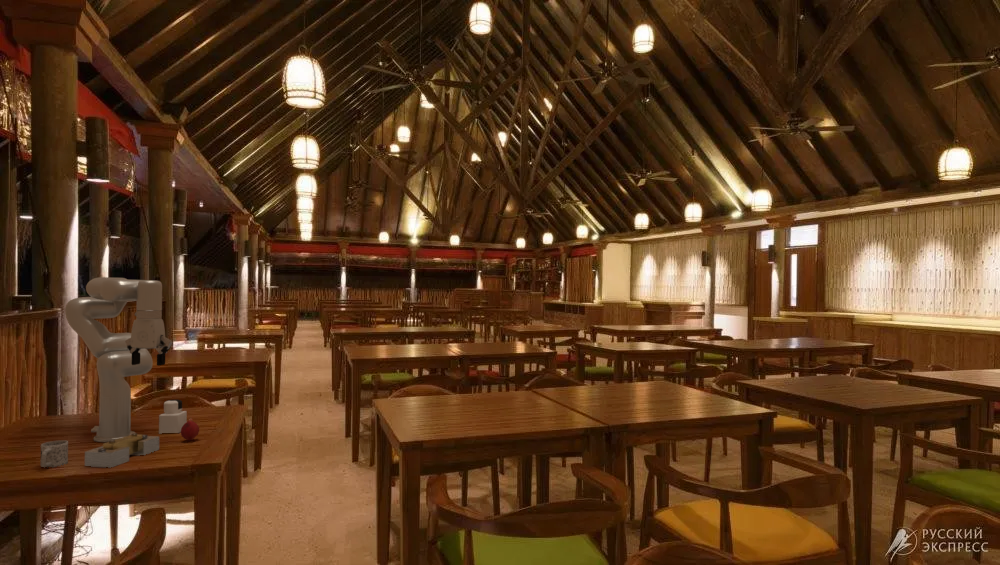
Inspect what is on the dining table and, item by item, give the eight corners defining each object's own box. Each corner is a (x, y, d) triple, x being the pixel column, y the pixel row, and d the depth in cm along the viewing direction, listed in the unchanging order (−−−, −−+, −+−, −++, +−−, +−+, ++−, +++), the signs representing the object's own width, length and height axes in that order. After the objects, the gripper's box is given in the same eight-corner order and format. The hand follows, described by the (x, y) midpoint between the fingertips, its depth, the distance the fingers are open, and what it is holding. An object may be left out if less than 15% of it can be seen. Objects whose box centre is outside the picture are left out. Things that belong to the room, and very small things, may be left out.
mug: (47, 462, 178) (48, 441, 178) (72, 460, 180) (72, 439, 180) (29, 472, 168) (29, 449, 169) (55, 470, 170) (55, 448, 170)
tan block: (102, 459, 177) (103, 441, 177) (132, 449, 189) (133, 432, 189) (112, 460, 177) (113, 442, 177) (142, 449, 189) (142, 432, 189)
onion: (190, 443, 200) (191, 420, 200) (176, 442, 201) (177, 420, 202) (202, 439, 206) (202, 417, 206) (188, 438, 207) (189, 416, 207)
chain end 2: (118, 454, 186) (118, 439, 187) (135, 448, 193) (135, 433, 194) (143, 455, 185) (143, 439, 185) (159, 449, 192) (159, 434, 192)
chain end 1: (84, 466, 174) (84, 449, 174) (103, 459, 181) (103, 443, 181) (111, 467, 172) (111, 450, 172) (129, 460, 179) (129, 444, 179)
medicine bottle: (167, 429, 221) (168, 398, 221) (186, 429, 222) (187, 398, 222) (158, 434, 214) (158, 402, 214) (178, 433, 215) (178, 401, 215)
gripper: (118, 315, 195) (117, 365, 195) (163, 316, 193) (162, 366, 193) (135, 315, 203) (134, 362, 203) (179, 315, 200) (178, 364, 200)
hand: (148, 364), depth 198 cm, fingers open, 9 cm apart
